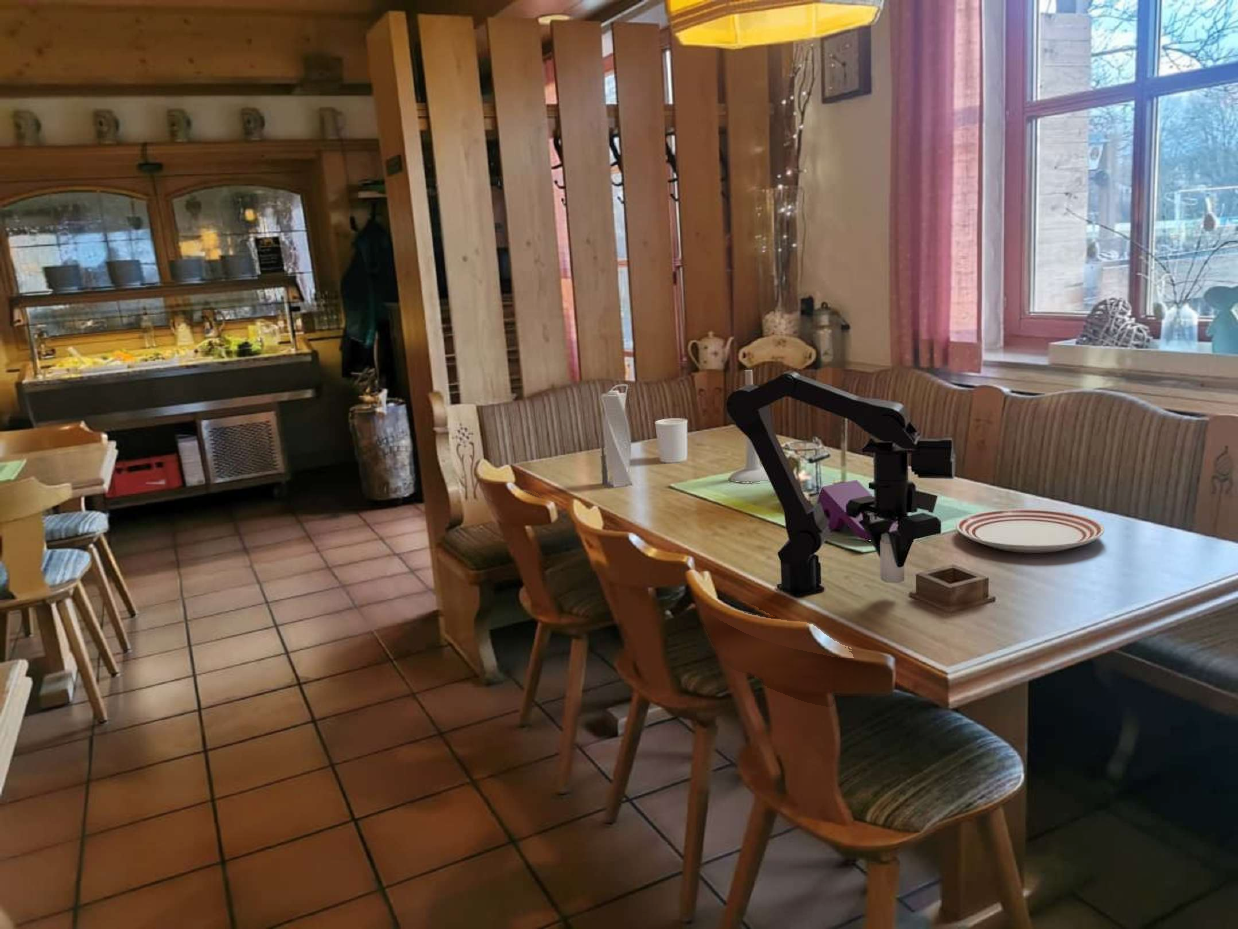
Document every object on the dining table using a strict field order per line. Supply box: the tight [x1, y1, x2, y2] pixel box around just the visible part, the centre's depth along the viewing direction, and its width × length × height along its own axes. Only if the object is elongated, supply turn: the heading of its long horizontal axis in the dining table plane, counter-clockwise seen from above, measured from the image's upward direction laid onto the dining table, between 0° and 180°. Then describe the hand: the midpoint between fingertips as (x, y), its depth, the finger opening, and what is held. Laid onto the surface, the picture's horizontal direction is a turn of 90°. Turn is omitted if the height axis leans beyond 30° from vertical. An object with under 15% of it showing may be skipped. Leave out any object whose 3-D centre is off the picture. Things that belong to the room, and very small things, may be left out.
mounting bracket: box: [816, 479, 898, 541], centre depth 204 cm, size 9×8×18 cm
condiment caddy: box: [908, 563, 997, 613], centre depth 163 cm, size 10×10×4 cm
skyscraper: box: [600, 383, 634, 489], centre depth 258 cm, size 8×8×28 cm
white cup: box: [654, 417, 688, 464], centre depth 285 cm, size 10×10×12 cm
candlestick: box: [729, 368, 769, 483], centre depth 254 cm, size 13×13×30 cm
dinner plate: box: [955, 508, 1105, 554], centre depth 190 cm, size 27×27×3 cm
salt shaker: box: [879, 533, 905, 584], centre depth 164 cm, size 4×4×8 cm
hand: (892, 563), depth 165 cm, fingers closed on salt shaker, 4 cm apart
